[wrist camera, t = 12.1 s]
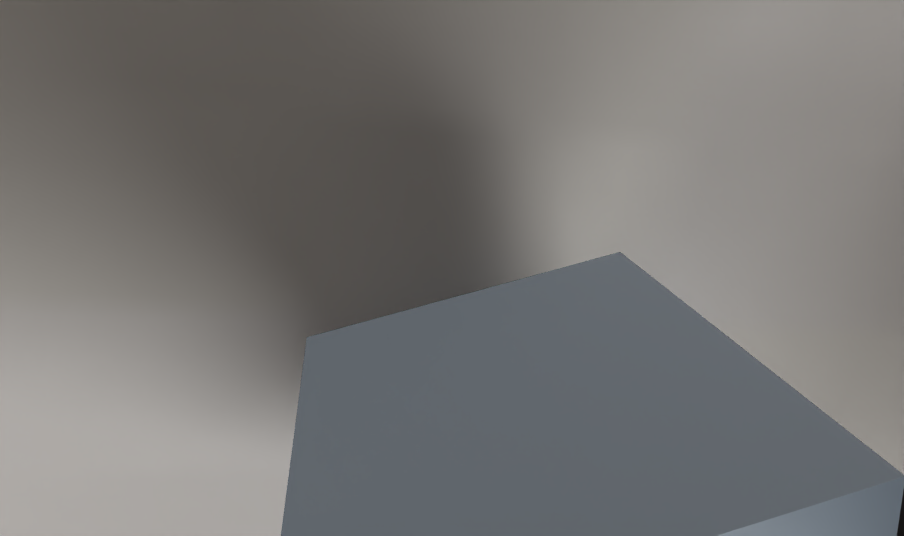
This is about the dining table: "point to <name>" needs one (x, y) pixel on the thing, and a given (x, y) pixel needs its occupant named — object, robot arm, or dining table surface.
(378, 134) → the dining table surface
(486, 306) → the slate cube
